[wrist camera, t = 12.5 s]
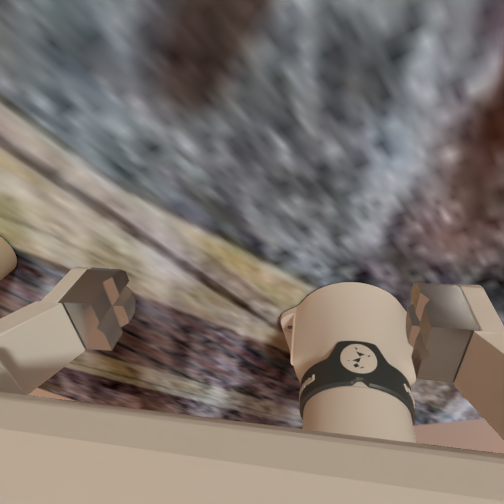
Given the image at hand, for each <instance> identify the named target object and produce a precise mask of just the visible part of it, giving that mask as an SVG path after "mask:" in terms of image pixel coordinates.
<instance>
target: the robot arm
mask: <svg viewBox="0 0 504 504" xmlns="http://www.w3.org/2000/svg"><path fill="white" fill-rule="evenodd" d="M128 282H129V279H128V277H127V274H126V272H125V271H123V270H120V269H105V268H88V267H76V268H72V269H71V270H70V271H69V272H68V274H67V275H66V276H65V277H64V278H63V279H62V280H61V281H60V282H59V283H58V284H57V285H56V286H55V287H54V288H53V289H52V290H51V291H50V292H49V293H48V294H47V295H46V297H45V298H44V299H43V300H42V301H41V302H38V301H36V302H34V303H32V304H30V305H28V306H25V307H23V308H21V309H19V310H17V311H15V312H13V313H11V314H9V315H7V316H5V317H3V318H1V319H0V504H504V454H501V453H493V452H485V451H477V450H469V449H461V448H453V447H444V446H436V445H428V444H420V443H417V441H416V437H415V432H414V428H413V426H414V424H415V417H416V416H415V410H414V408H415V403H414V398H413V395H412V392H411V388H410V386H411V385H412V384H414V383H415V380H416V378H417V379H424V380H433V381H441V382H450V383H454V384H453V385H454V386H455V387H456V388H457V389H458V390H459V391H460V392H461V394H462V395H463V396H464V397H465V398H466V399H467V400H468V401H469V402H470V403H471V405H472V406H473V407H474V408H475V409H476V410H477V411H478V412H479V413H480V414H481V416H482V417H483V418H484V419H485V420H486V421H487V422H488V423H489V424H490V425H491V426H492V428H493V429H494V430H495V431H496V432H497V433H498V434H499V435H500V436H501V438H502V439H503V440H504V326H503V324H502V322H501V320H500V318H499V317H498V315H497V313H496V311H495V309H494V307H493V306H492V304H491V302H490V300H489V298H488V296H487V295H486V293H485V291H484V289H483V287H481V286H480V285H458V284H457V285H444V284H420V283H415V284H414V286H413V288H412V292H411V298H412V302H413V304H412V305H411V306H410V307H408V310H407V312H406V311H405V310H404V308H403V307H402V306H401V304H400V303H399V302H398V300H397V299H396V298H395V297H393V296H392V295H391V294H389V293H388V292H386V291H385V290H383V289H380V288H378V287H376V286H372V285H369V284H364V283H357V282H343V283H336V284H331V285H328V286H325V287H322V288H320V289H318V290H316V291H314V292H313V293H311V294H310V295H308V296H307V297H306V298H305V299H304V300H303V301H302V302H301V303H300V304H299V305H298V306H297V307H294V308H292V309H290V310H287V311H285V312H284V313H282V315H281V326H282V329H283V332H284V335H285V338H286V341H287V344H288V348H289V351H290V354H291V365H293V366H294V370H295V373H296V375H297V378H298V380H299V382H300V384H301V388H300V392H299V405H300V415H301V417H302V420H303V425H302V429H298V428H289V427H281V426H273V425H265V424H257V423H248V422H240V421H232V420H224V419H216V418H208V417H200V416H192V415H184V414H176V413H168V412H160V411H151V410H143V409H135V408H127V407H119V406H111V405H103V404H95V403H86V402H78V401H70V400H62V399H54V398H45V397H38V396H29V395H28V394H29V393H31V392H32V391H33V390H34V389H36V388H37V387H38V386H40V385H41V384H42V383H44V382H45V381H46V380H48V379H49V378H50V377H51V376H53V375H54V374H55V373H57V372H58V371H59V370H61V369H62V368H63V367H64V366H66V365H67V364H68V363H70V362H71V361H72V360H74V359H75V358H76V357H77V356H79V355H80V354H81V353H83V352H84V351H85V349H94V350H111V351H112V350H113V348H114V346H115V345H116V343H117V341H118V340H119V338H120V337H121V335H122V328H121V327H122V326H124V325H126V324H127V323H129V322H130V320H131V318H132V317H133V315H134V311H135V306H136V303H135V296H134V293H133V291H131V290H130V289H129V288H128V287H127V284H128ZM290 325H291V326H290Z"/></svg>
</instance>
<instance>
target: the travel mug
mask: <svg viewBox="0 0 504 504" xmlns="http://www.w3.org/2000/svg"><path fill="white" fill-rule="evenodd" d="M16 265H17V257H16V254H15V252H14V250H13V249H12V247H11V246H10V245H9V244H8V243H7V242H6V241H5V240H4V239H3V238H2V237H1V236H0V280H2V279H3V278H4V277H5V276H6V275H7V274H9V273H10V272H11V271H12V270H13V269H14V268H15V267H16Z"/></svg>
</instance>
